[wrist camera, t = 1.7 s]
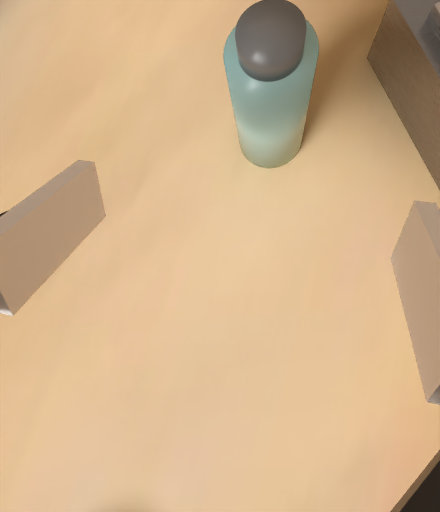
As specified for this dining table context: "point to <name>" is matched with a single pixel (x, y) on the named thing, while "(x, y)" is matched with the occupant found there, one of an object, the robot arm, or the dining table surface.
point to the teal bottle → (271, 79)
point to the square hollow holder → (412, 71)
